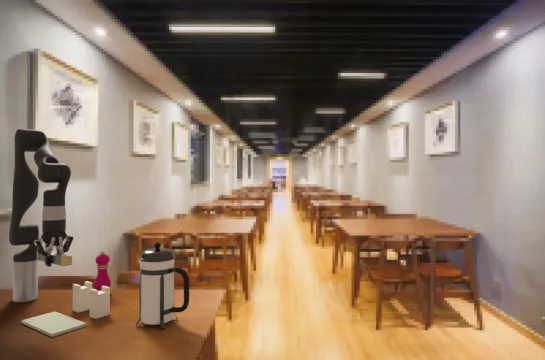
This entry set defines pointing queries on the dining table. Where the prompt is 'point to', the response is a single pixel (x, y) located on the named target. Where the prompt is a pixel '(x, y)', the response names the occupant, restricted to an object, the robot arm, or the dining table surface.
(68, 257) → the rail
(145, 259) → the coffee press
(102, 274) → the pepper mill
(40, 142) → the robot arm
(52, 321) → the mat
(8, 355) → the dining table surface
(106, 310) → the post
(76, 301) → the post
